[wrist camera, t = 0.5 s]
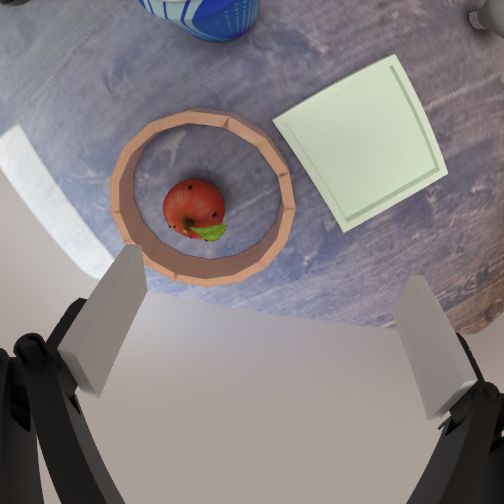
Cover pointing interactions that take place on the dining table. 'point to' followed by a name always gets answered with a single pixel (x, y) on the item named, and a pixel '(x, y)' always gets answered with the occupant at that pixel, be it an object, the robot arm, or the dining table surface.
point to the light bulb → (489, 17)
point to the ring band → (171, 259)
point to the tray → (364, 141)
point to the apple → (195, 210)
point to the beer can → (207, 16)
